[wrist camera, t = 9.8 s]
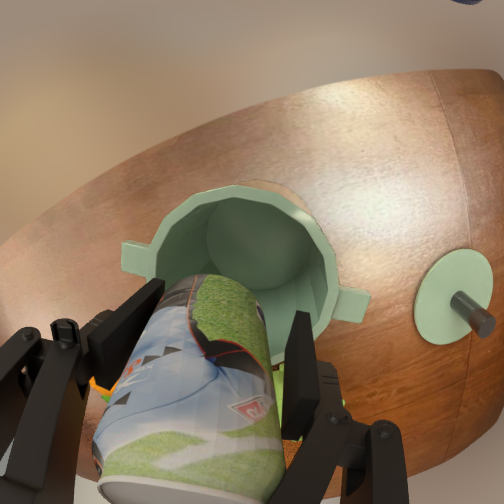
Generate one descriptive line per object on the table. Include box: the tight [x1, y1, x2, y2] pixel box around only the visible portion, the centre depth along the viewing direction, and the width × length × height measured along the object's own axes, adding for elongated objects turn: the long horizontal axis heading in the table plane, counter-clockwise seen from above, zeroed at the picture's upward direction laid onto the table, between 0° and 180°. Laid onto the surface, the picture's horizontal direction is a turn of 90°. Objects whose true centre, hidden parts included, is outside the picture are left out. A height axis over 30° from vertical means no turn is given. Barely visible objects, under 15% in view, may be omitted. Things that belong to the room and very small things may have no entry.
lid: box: [414, 248, 496, 344], centre depth 27 cm, size 15×15×9 cm
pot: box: [121, 180, 371, 365], centre depth 26 cm, size 14×19×14 cm
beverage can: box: [92, 274, 286, 504], centre depth 10 cm, size 6×7×12 cm
